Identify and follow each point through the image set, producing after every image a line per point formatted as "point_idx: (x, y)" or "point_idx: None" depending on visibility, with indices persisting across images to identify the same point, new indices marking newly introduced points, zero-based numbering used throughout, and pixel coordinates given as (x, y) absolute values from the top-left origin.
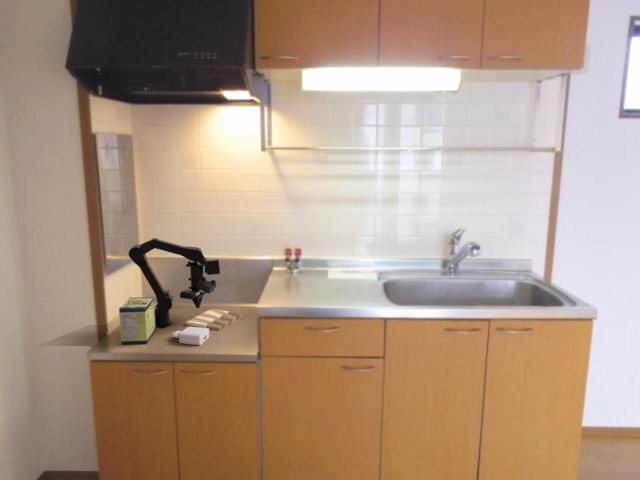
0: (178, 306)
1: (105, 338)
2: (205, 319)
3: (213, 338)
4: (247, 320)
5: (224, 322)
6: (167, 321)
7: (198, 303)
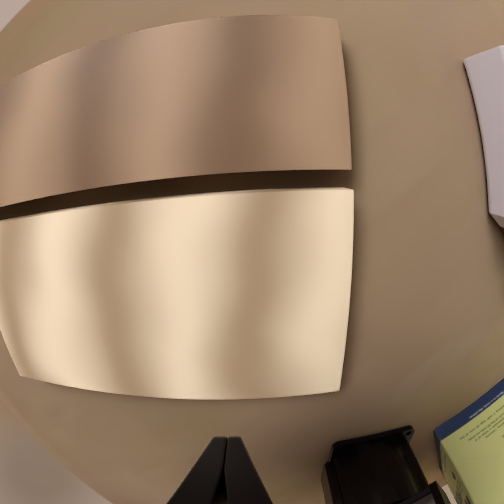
0: (111, 499)
1: None
2: (203, 289)
3: (455, 28)
4: (32, 19)
5: (179, 51)
6: (381, 457)
7: (265, 499)
